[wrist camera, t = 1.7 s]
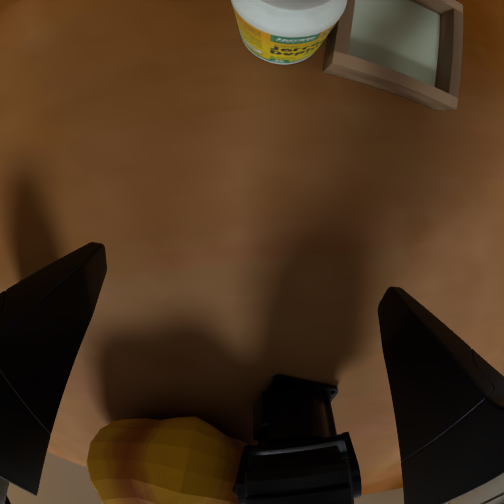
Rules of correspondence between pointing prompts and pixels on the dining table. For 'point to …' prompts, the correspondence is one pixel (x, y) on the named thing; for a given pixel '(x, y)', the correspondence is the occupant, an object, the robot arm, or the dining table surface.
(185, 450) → the decorative pumpkin
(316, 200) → the dining table surface
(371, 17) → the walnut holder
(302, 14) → the supplement bottle
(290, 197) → the dining table surface
